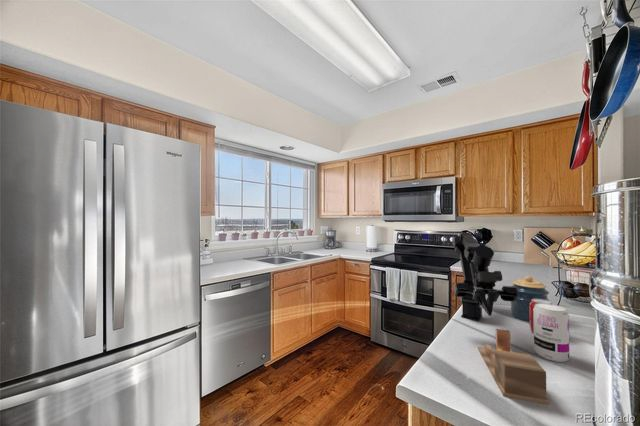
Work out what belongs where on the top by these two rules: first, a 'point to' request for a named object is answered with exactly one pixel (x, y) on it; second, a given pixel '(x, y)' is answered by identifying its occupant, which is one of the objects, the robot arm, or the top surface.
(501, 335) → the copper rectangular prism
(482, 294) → the robot arm
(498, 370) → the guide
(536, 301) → the soda can
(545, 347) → the supplement can
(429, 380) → the top surface
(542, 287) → the canister
